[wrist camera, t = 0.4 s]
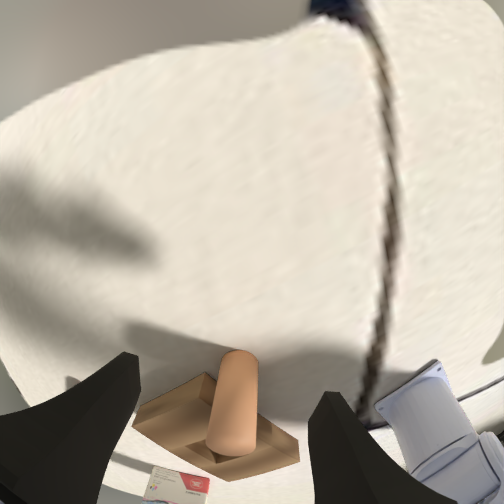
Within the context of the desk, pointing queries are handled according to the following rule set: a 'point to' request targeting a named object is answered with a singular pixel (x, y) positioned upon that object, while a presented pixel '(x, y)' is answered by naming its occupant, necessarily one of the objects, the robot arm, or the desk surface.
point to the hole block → (195, 432)
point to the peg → (234, 406)
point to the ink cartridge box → (175, 488)
